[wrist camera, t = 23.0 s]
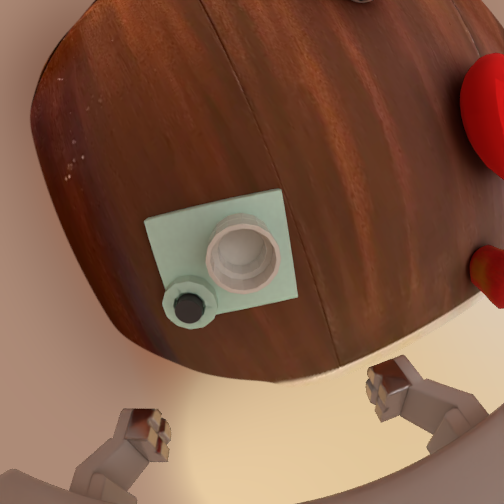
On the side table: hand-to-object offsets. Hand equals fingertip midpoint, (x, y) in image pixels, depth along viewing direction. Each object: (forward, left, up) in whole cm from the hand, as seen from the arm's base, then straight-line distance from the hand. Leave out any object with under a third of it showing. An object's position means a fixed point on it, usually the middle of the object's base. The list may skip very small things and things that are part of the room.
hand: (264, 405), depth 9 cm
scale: (-2, -2, -21) cm, 21 cm away
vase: (+38, +11, -21) cm, 45 cm away
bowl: (0, 0, -20) cm, 20 cm away
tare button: (-7, -5, -19) cm, 20 cm away
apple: (+37, -12, -21) cm, 44 cm away
